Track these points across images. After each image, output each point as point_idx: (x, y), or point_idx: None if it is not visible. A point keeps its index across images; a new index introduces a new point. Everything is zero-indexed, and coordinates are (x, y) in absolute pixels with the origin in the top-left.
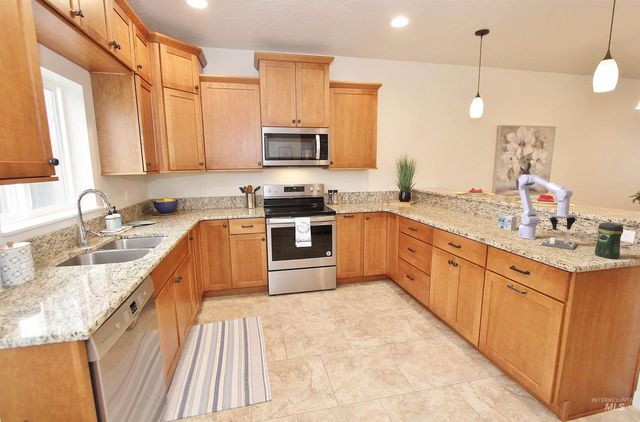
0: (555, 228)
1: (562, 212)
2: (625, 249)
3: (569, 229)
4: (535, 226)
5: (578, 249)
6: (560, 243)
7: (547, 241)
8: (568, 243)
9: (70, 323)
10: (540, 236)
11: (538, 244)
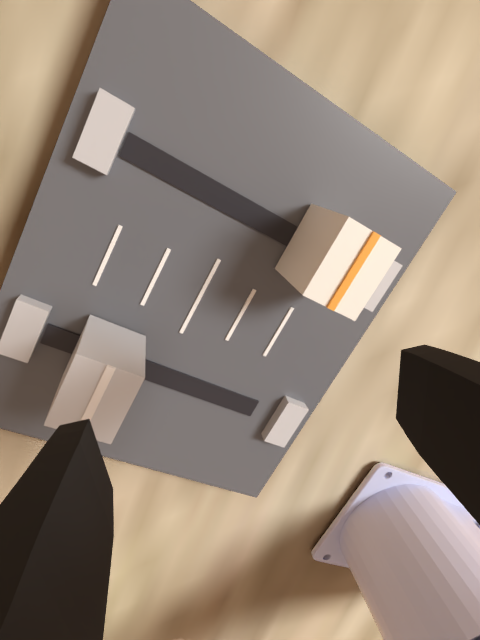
0: (444, 354)
1: None
2: None
3: (72, 428)
4: None
5: (15, 71)
6: (202, 285)
7: None
8: (91, 315)
9: None
10: (244, 619)
11: (446, 236)
